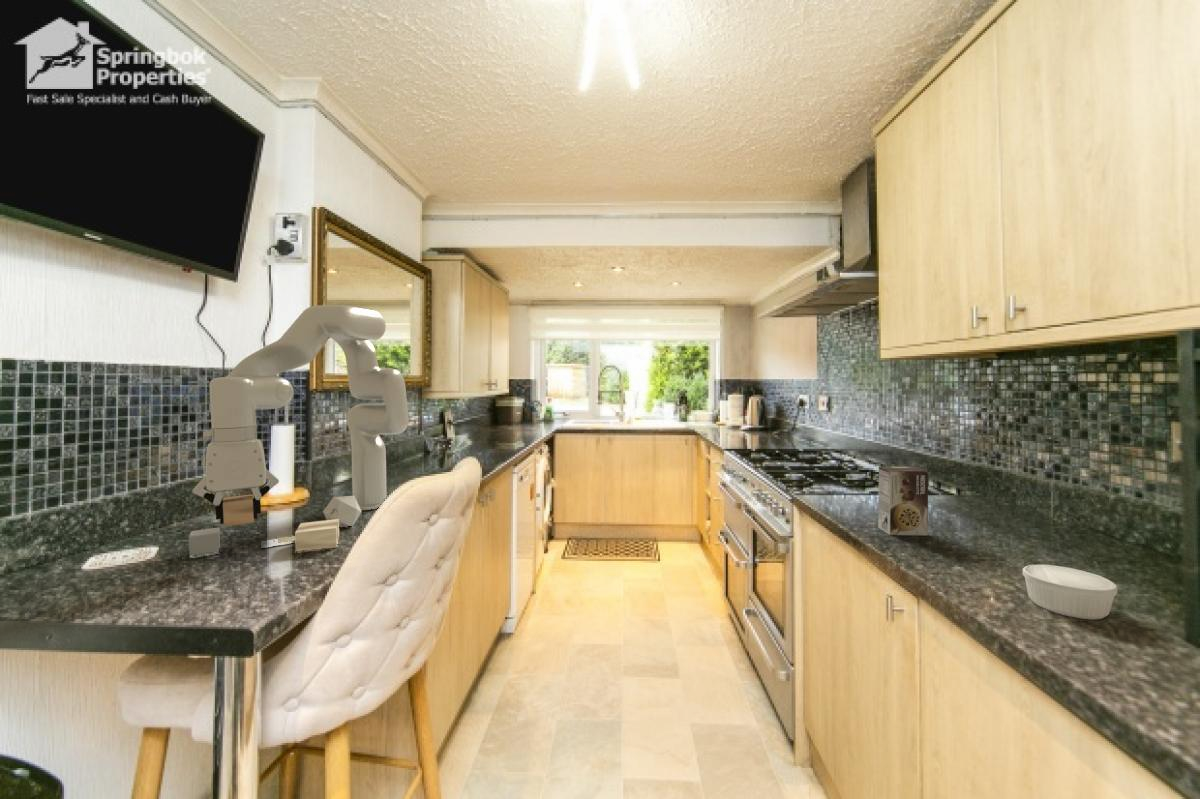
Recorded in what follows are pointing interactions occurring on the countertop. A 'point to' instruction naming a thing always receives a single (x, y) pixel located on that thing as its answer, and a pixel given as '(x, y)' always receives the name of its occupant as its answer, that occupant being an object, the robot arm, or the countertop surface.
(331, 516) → the die
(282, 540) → the card
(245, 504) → the walnut block
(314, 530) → the birch base block
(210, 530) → the slate block
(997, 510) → the countertop surface
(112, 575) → the countertop surface
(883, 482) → the cookie box
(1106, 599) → the ramekin
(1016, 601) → the countertop surface
